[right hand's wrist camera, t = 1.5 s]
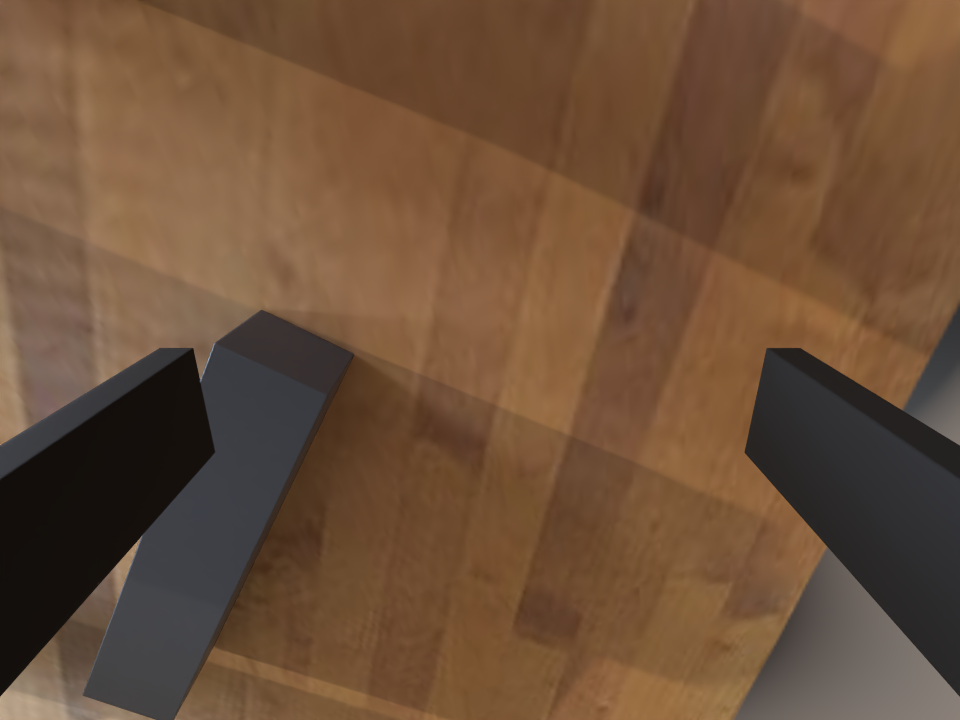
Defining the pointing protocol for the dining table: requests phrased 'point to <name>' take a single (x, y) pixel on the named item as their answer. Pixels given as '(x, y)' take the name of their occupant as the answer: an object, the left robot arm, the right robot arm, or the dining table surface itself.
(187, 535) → the grey beam
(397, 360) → the dining table surface
